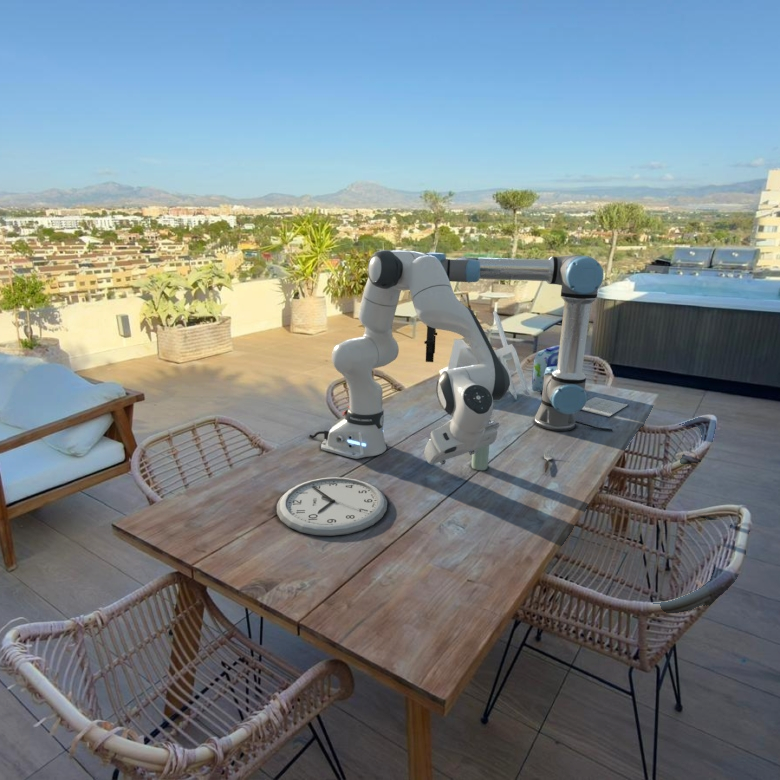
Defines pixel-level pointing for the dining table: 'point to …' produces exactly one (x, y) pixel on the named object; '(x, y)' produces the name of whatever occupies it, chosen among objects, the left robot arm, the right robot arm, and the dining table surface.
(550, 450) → the fork
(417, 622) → the dining table surface
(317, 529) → the wall clock
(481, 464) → the jar
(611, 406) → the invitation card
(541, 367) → the lunch box
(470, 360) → the white plastic object
